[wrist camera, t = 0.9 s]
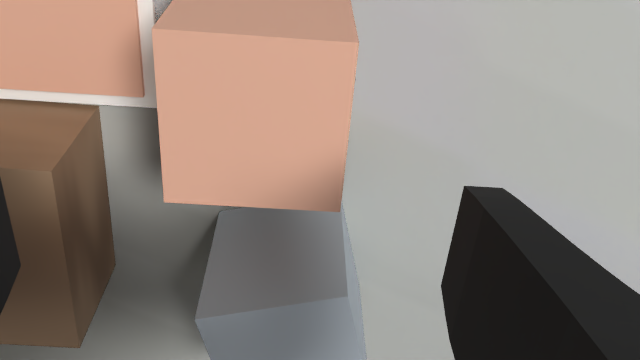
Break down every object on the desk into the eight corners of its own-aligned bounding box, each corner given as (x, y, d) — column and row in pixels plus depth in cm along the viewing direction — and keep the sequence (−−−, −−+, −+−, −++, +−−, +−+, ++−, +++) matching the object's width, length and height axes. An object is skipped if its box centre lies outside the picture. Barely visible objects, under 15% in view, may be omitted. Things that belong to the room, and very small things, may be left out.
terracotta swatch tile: (161, 105, 18) (158, 111, 17) (-42, 92, 17) (-49, 98, 17) (146, -113, 15) (142, -111, 14) (-99, -132, 14) (-109, -131, 14)
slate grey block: (359, 283, 21) (370, 400, 17) (249, 300, 22) (235, 418, 18) (339, 190, 19) (347, 296, 15) (220, 210, 20) (194, 319, 15)
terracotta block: (333, 118, 18) (340, 212, 14) (199, 109, 18) (163, 202, 14) (346, -19, 16) (359, 42, 12) (195, -30, 16) (152, 28, 12)
